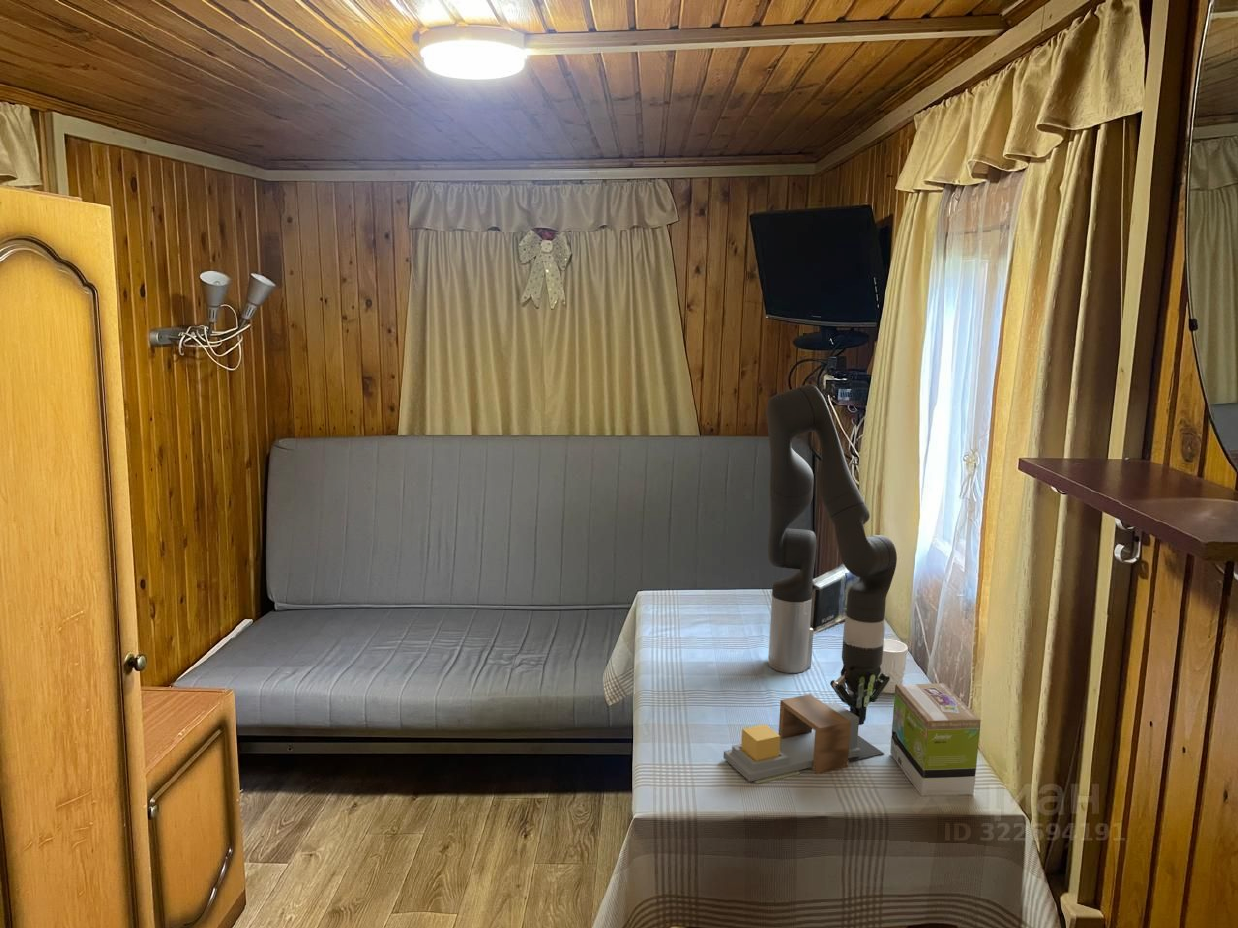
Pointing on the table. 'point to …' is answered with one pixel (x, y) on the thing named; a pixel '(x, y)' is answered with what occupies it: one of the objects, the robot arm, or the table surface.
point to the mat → (776, 777)
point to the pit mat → (865, 750)
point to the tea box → (935, 739)
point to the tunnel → (817, 730)
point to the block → (760, 742)
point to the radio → (830, 598)
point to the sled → (790, 752)
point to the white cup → (893, 663)
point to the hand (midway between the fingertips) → (856, 723)
